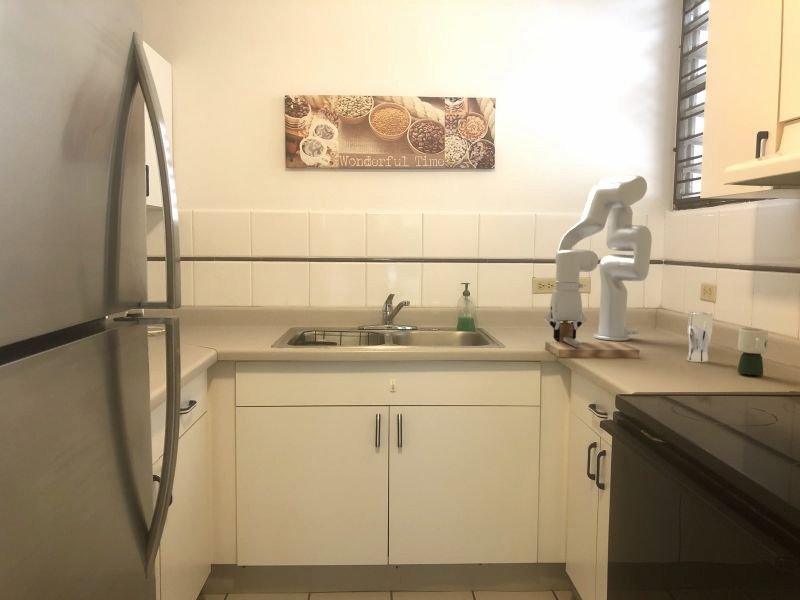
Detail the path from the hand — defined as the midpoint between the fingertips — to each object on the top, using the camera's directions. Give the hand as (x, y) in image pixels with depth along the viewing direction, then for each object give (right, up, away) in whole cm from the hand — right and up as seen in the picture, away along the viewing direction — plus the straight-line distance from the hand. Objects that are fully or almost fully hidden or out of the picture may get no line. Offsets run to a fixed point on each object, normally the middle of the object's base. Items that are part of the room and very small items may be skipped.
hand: (564, 340), depth 212 cm
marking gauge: (0, -3, -6) cm, 7 cm away
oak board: (+6, -4, -8) cm, 11 cm away
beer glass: (+37, -6, -17) cm, 41 cm away
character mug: (+43, -8, -36) cm, 56 cm away
